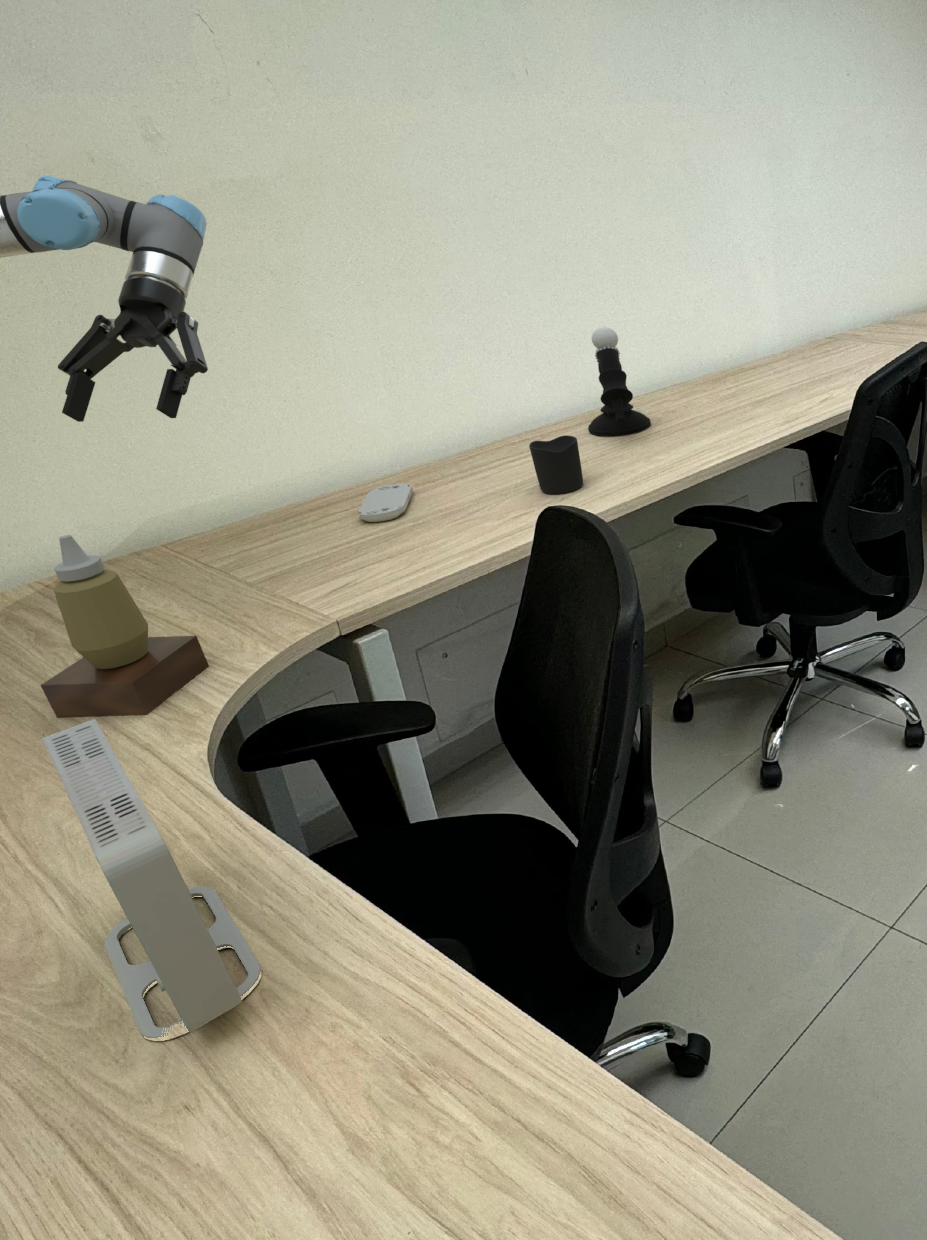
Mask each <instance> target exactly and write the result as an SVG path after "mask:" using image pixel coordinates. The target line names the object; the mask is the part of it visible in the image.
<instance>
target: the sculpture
mask: <svg viewBox="0 0 927 1240" xmlns="http://www.w3.org/2000/svg"><path fill="white" fill-rule="evenodd" d="M618 342H619V337H618V334H617V332H616V331H615V330H614V329H613V328H610V327H607V326H601V327H598V328H596V329H595V330H594V331H593V332H592V334H591V343H592V344H593V347H595V348H596V349H595V353H594V357H595V359H596V362H597V366H598V373H599V376H598V382H599V383H600V385H601V387H602V393H601V396H600V402H601V404H603V406H602V407H601V408H600V412H601V413H600V414H598V415H597V416H596V417H595V418H593V420H591V422H590V423H589V424H588V427H587V428H588V433H589V434H590V435H592V436H596V437H621V436H629V435H633V434H636V433H640V432H643V431H645V430H648V428H650V427H651V426H652V423H651V419H650V417H648V416H646V415H645V414H644V413H642V412H640V411H637V410H635V409H633V408H634V405H632V404H631V401H632V400H633V398H634V395H633V393H632V391H631V390H630V389H628V386H627V378H628V377H627V373H626V371H624V370H623V367H622V364H621V361H620V360H621V359H620V355H621V353H620V350H619V349H618V347H617V345H618Z"/></svg>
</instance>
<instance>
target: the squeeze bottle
mask: <svg viewBox="0 0 927 1240" xmlns="http://www.w3.org/2000/svg"><path fill="white" fill-rule="evenodd" d="M58 539H59V540H58V541H59V546H60V552H61V558H62V559H61V560H62V562H60V563H58V564H57V565H55V567H54V569H53V571H54V572H55V575H56V576H57V578H58V580H59V581H58V582H57V583H56V584H55V586H54V588H53V592H54V596H55V600H56V603H57V605H58V609H59V611H60V614H61V618H62V620H63V623H64V626H65V630H66V633H67V636H68V638H69V642H70V644H71V648H73V649H74V651H76V652H77V653H78V654H80V655H81V656H82V658H83V657H84V658H85V659H86V660H87V661H88V662H90V663H91V664H92V665H93V666H94V667H95V668H97V669H111V668H116V667H120V666H124V665H127V664H129V663H132V662H134V661H136V660H138V659H140V658H142V657H143V656H144V655H145V654H146V653H147V652H148V637H149V623H148V622H147V620H146V618H145V617H144V615H143V613H142V612H141V610H140V608H139V607H138V605H137V604H136V602H135V600H134V598H133V597H132V595H131V594H130V592H129V590H128V589H127V586H126V585H125V583H124V582H123V580H122V579H121V577H120V576H119V574H118V572H117V571H114V570H112V569H109V568H108V569H107V568H105V567H106V566H105V565H104V562H103V561H102V558H101V557H100V556H99V555H94V554H93V555H92V554H91V555H87V553H86V552H85V551H84V549H83V548H82V547H81V546H80V544H79V543H78V542H77V541H76V539H75V538H74V537H73V535H71V534H64V535H61V536H59V537H58Z"/></svg>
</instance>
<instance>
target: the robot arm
mask: <svg viewBox="0 0 927 1240" xmlns="http://www.w3.org/2000/svg"><path fill="white" fill-rule="evenodd" d="M207 224H208V222H207V218H206V216H205V214H204V213H203V212H202V210H200V208H199V207H197V206H196V205H194V204H193V203H192V202H190V201H189V200H186V199H185V198H182V197H179V196H176V195H172V194H169V195H165V194H156V195H153V196H151V197H150V198H149V200H148V202H146V203H142V202H139V201H135V200H131V199H130V200H129V199H127V198H124V197H120V196H118V195H114V194H111V193H108V192H105V191H102V190H98V189H96V188H93V187H89V186H86V185H83V184H79V183H78V182H76V181H74V180H69V179H63V178H59V177H55V176H51V175H42V176H40V177H39V178H38V179H37V181H36V182H35V183H34V185H33V188H32V191H24V192H17V193H16V192H15V193H10V194H0V259H2V258H8V257H15V256H20V255H29V254H37V253H45V252H51V251H52V252H53V251H59V250H62V251H70V250H76V249H82V248H85V247H87V246H89V245H90V244H92V243H98V244H100V245H105V246H108V247H112V248H116V249H119V250H120V249H121V250H123V251H127V252H131V253H132V254H131V258H130V261H129V264H128V266H127V270H126V272H125V276H124V281H123V284H122V287H121V290H120V293H119V296H118V299H117V301H118V306H119V311H120V312H119V314H118V315H117V317H115V318H107V317H106V316H104V315H103V314H97V315H96V316H95V318H94V320H93V322H92V324H91V327H90V328H89V329H88V330H87V331H86V332H85V334H84V335H83V336H82V337H81V338H80V339H79V340H78V342H77V343H76V344H75V345H74V346H73V347H72V349H71V350H70V351H69V352H68V353H67V354H66V355H65V356H64V358H63V359H62V360H60V362H59V364H58V365H57V369H58V370H60V371H61V372H62V373H65V374H66V375H68V376H69V378H68V382H67V385H66V388H65V395H66V398H65V401H64V404H63V408H62V411H61V414H63V415H65V416H67V417H69V418H71V419H72V420H74V421H76V422H77V423H83V422H84V421H85V417H86V414H87V411H88V408H89V406H90V402H91V398H92V395H93V391H94V388H95V386H96V381H94V380H93V378H94V377H95V376H97V375H98V374H99V373H100V372H101V371H102V370H104V369H105V368H107V367H108V366H109V365H110V364H111V363H112V362H114V361H115V360H116V359H118V357H120V356H121V355H122V354H123V353H128V352H131V351H132V350H133V349H134V348H136V349H140V348H144V347H149V348H157V346H158V347H159V348H160V350H161V351H162V353H163V354H164V356H165V357H166V358H167V360H168V361H169V362H170V366H171V367H172V368H167V369H166V372H165V375H164V379H163V383H162V387H161V390H160V394H159V397H158V400H157V404H156V409H155V410H157V411H159V412H160V413H161V414H163V415H165V416H166V417H168V418H170V419H177V415H178V412H179V408H180V405H181V402H182V397H183V396H185V395H187V393H188V389H189V385H190V382H191V378H193V377H194V376H195V375H196V374H198V373H200V374H206V373H207V372H208V370H209V368H208V364H207V361H206V357H205V355H204V351H203V348H202V346H201V345H202V344H201V341H200V338H199V336H198V328H199V322H198V320H196V319H195V318H194V317H192V316H191V315H189V313H187V312H186V311H185V308H186V304H187V301H186V299H187V298H188V296H189V292H190V289H191V285H192V282H193V279H194V275H195V272H196V268H197V264H198V261H199V258H200V255H201V252H202V248H203V246H204V239H205V234H206V230H207ZM176 330H177V333H178V337H179V340H180V344H181V346H182V349H183V353H184V355H183V354H182V352H181V351H180V349H179V348H178V347H177V344H176V343H175V341H174V340H173V338H172V337H171V334H173V333H174V332H175V331H176ZM118 337H121V339H122V340H123V341H124V342H123V341H121V340H120V339H119V338H118ZM85 370H86V371H85Z"/></svg>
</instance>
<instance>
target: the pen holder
mask: <svg viewBox="0 0 927 1240" xmlns="http://www.w3.org/2000/svg"><path fill="white" fill-rule="evenodd" d="M528 447H529V451H530V454H531V459H532V463H533V467H534V470H535V474H536V478H537V481H538V486H539V489H540V491H541V492H542V493H544V494H547V495H563V494H568V493H569V494H570V493H573V492H575V491H578V490H579V489H581V488H582V487H583V485H584V477H583V470H582V469H583V468H582V462H581V456H580V450H579V442H578V438H577V437H576V436H573V435H559V436H557V437H555V438H553V439H550V440H533V441H531V442H530V443H529V445H528Z"/></svg>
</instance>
